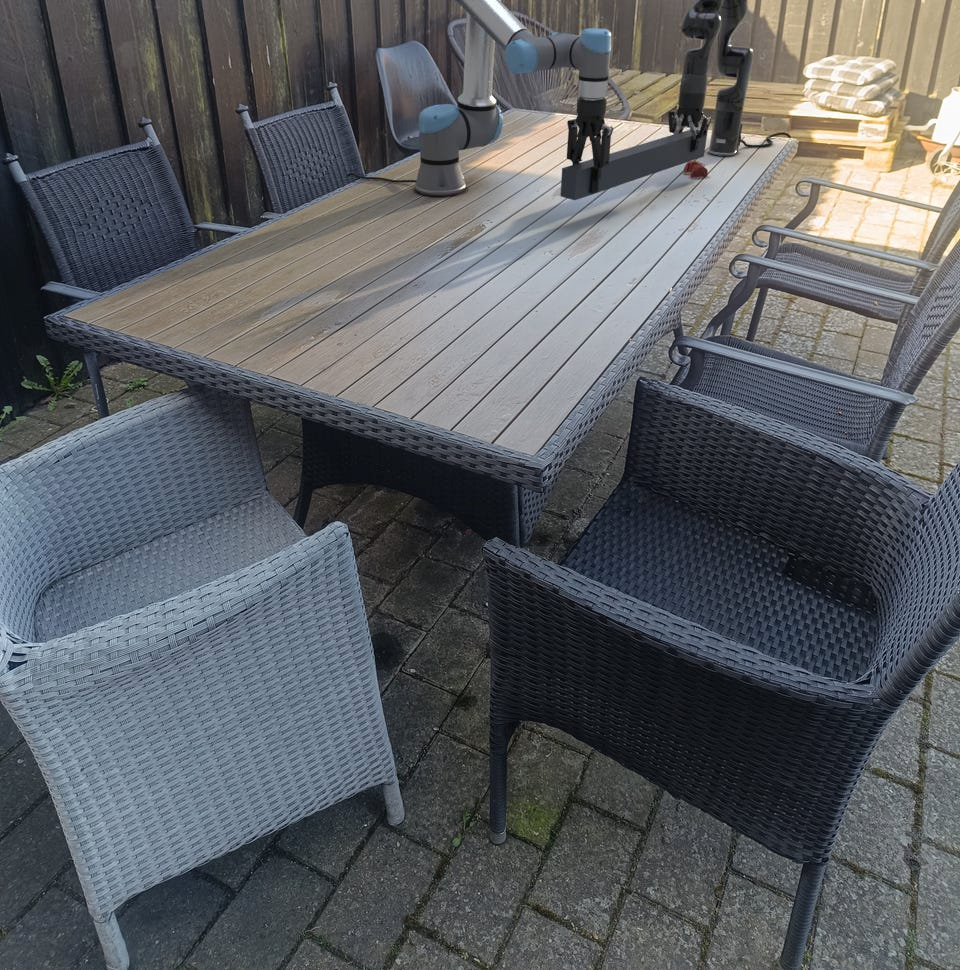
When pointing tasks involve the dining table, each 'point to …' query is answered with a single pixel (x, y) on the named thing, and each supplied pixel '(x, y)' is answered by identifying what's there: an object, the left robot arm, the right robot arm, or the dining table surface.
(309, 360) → the dining table surface
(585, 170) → the beam
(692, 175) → the red lumpy piece
